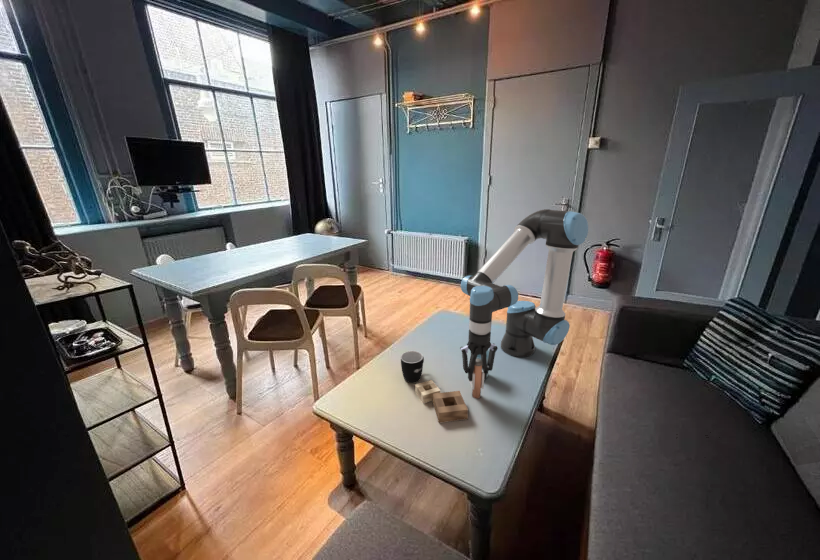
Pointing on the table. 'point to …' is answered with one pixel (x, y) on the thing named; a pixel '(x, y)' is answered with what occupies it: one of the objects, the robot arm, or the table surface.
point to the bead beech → (426, 391)
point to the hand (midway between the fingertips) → (476, 386)
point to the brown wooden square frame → (450, 406)
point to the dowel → (477, 379)
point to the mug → (412, 366)
